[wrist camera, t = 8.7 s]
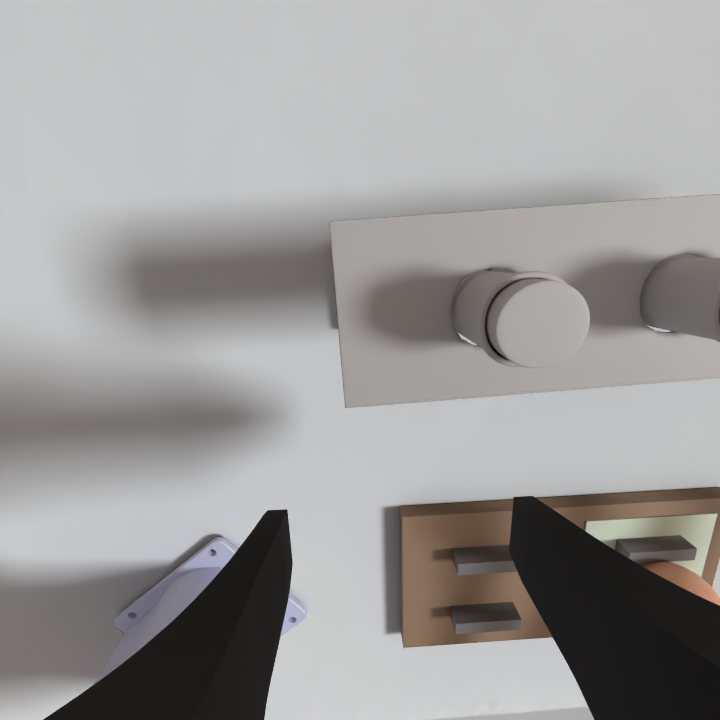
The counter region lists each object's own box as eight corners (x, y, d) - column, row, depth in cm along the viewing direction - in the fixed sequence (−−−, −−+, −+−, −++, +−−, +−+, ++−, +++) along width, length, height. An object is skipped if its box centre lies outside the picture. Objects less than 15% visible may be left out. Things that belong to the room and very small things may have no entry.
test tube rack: (343, 329, 20) (341, 459, 7) (335, 241, 18) (316, 201, 6) (801, 294, 20) (1593, 354, 7) (822, 206, 19) (1811, 98, 6)
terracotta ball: (628, 611, 24) (690, 688, 20) (595, 571, 23) (652, 642, 19) (689, 574, 23) (766, 645, 19) (657, 531, 22) (731, 596, 18)
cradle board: (401, 632, 25) (406, 667, 23) (399, 506, 22) (405, 531, 20) (687, 612, 26) (718, 644, 24) (719, 487, 23) (757, 510, 21)
